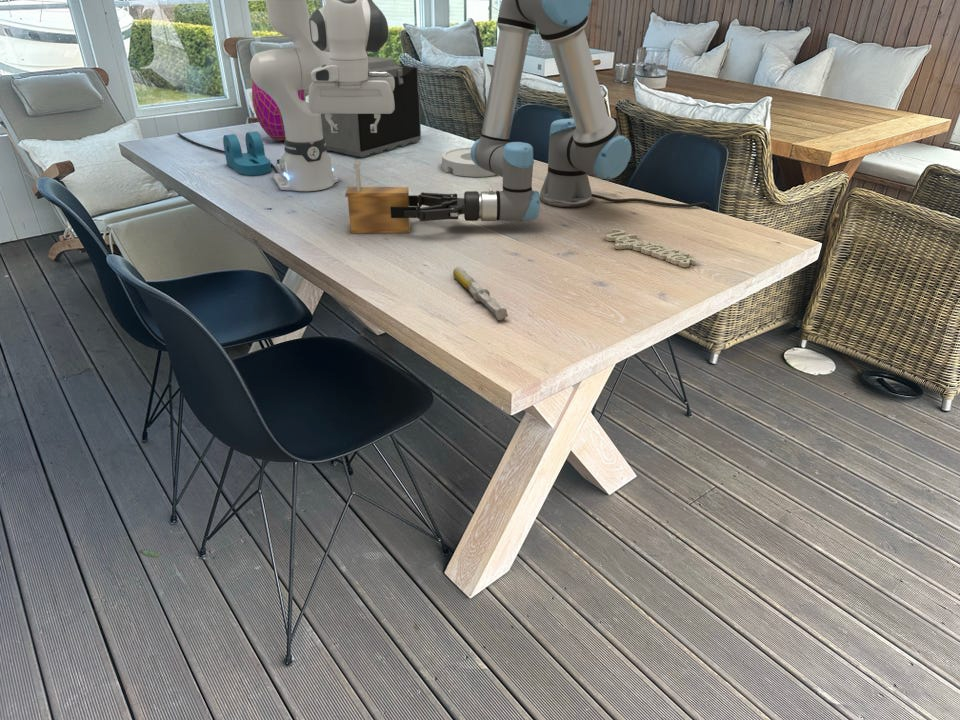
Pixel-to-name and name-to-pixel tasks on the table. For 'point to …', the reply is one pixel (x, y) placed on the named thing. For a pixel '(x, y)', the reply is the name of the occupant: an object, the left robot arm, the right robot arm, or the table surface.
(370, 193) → the lid
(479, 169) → the ashtray
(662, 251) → the decorative sign
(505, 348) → the table surface
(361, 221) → the chest
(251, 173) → the camera mount
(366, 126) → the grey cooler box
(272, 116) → the decorative egg
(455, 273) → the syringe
